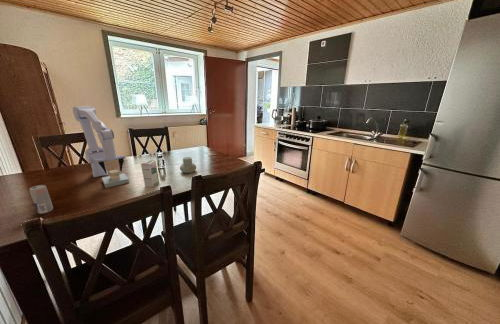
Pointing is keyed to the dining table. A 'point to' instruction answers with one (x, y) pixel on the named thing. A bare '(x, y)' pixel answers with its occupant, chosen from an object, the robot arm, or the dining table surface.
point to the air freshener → (187, 165)
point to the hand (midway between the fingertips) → (113, 172)
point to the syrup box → (150, 173)
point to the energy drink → (41, 199)
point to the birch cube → (114, 174)
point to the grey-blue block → (110, 183)
